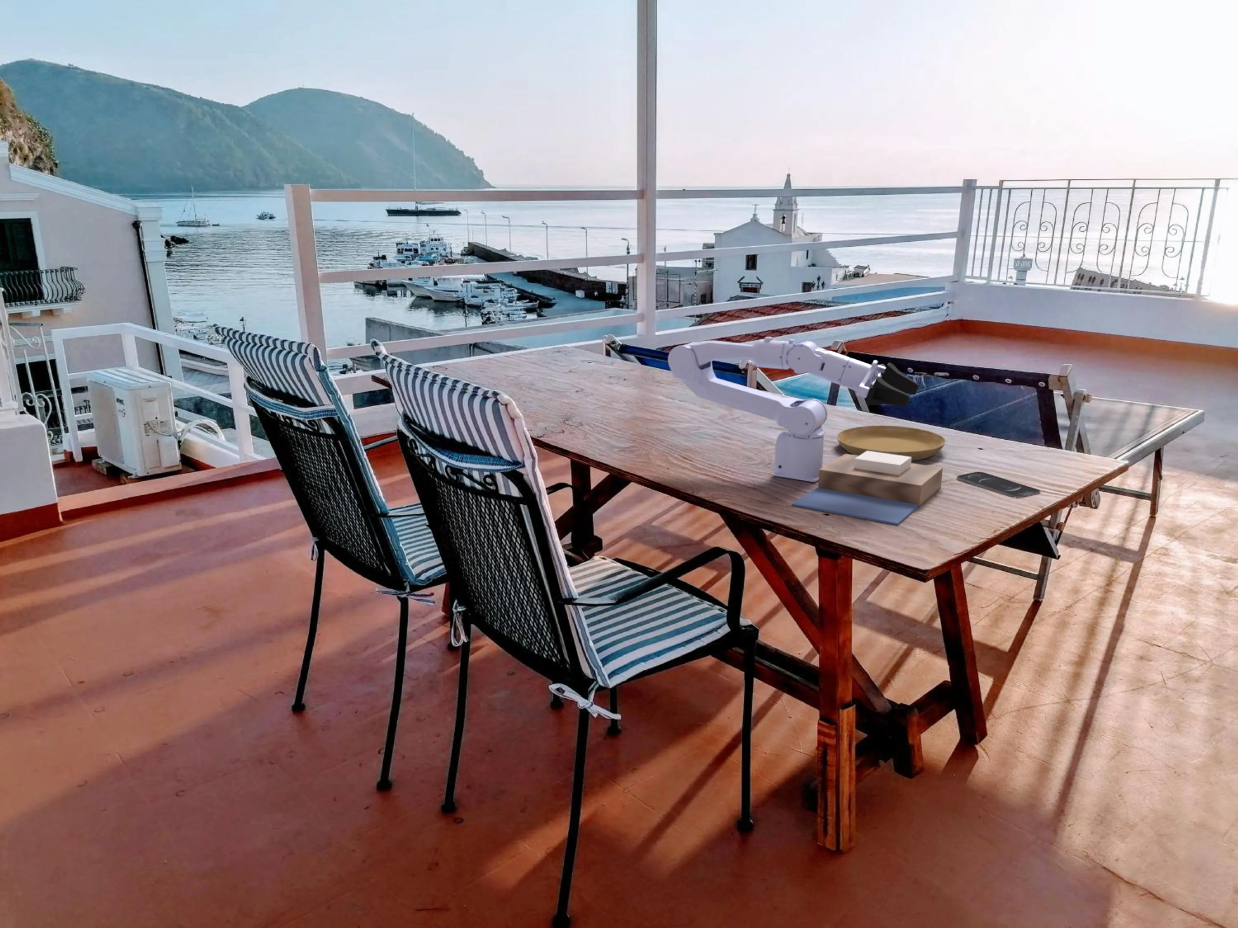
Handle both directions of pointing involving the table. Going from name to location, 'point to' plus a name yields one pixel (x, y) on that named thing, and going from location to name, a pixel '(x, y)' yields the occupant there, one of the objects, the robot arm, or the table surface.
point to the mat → (856, 505)
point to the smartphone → (997, 484)
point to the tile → (882, 462)
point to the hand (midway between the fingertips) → (913, 395)
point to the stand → (881, 481)
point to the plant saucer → (891, 441)
